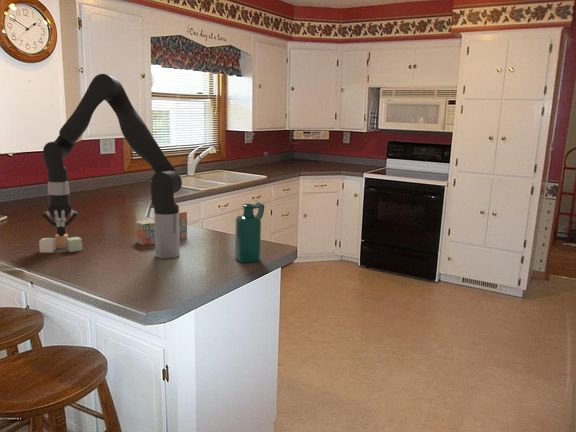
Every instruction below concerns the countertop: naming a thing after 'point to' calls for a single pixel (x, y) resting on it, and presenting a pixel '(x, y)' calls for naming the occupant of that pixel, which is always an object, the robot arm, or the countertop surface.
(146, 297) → the countertop surface
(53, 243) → the cream cube
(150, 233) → the stack of blocks
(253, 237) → the pitcher
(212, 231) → the countertop surface
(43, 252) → the mat
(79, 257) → the countertop surface
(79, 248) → the sage cube
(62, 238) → the terracotta cube
